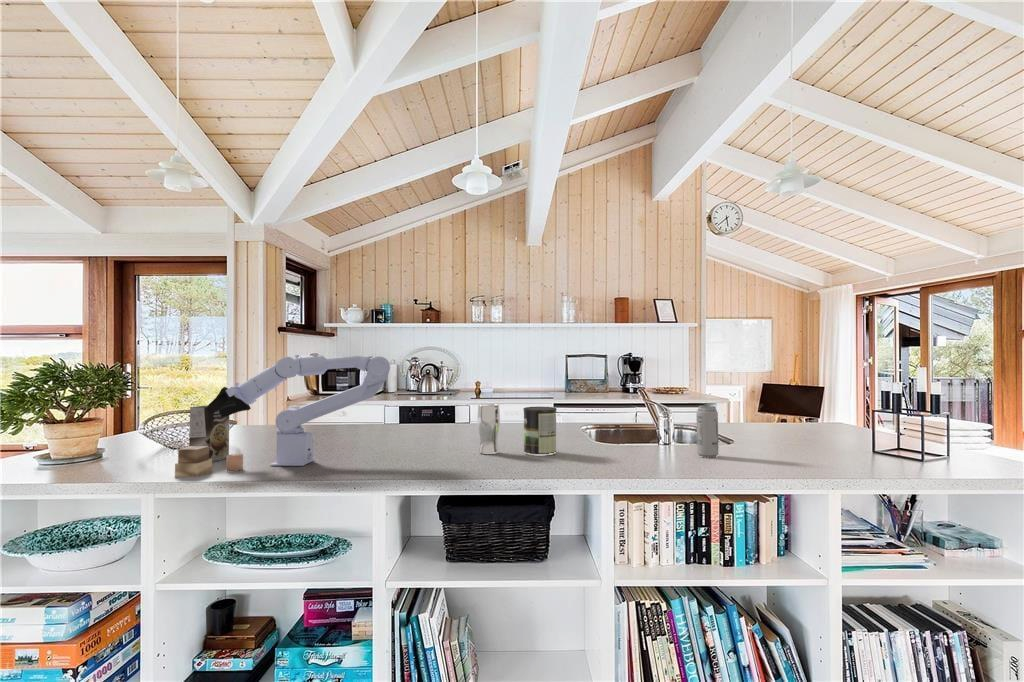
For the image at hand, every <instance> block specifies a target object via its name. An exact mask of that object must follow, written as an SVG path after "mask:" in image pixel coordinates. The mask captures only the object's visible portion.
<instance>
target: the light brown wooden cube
mask: <svg viewBox="0 0 1024 682" xmlns="http://www.w3.org/2000/svg"><path fill="white" fill-rule="evenodd" d="M225 460H226V465H225V466H226V467H225V468H226V469H225V470H227V471H226V472H228V471H235V472H238V471H237V470H241V471H243V470H244V454H243V453H233V454H229V455H227V456H226V459H225ZM242 469H243V470H242Z"/></svg>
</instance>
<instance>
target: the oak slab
mask: <svg viewBox="0 0 1024 682" xmlns="http://www.w3.org/2000/svg"><path fill="white" fill-rule="evenodd" d="M211 471H212V472H213V462H212V459H209V460H206V461H203V462H199V463H178V462H176V463H174V477H184V476H189V477H193V478H194V477H196V478H197V477H201V476H204V475H206V473H207V474H210V473H211ZM203 474H204V475H203Z"/></svg>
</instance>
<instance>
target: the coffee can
mask: <svg viewBox="0 0 1024 682" xmlns="http://www.w3.org/2000/svg"><path fill="white" fill-rule="evenodd" d="M522 409H523V453H524V452H526V453H530V454H549V453H554V452H556V453H557V408H556V407H554V406H527V407H524V408H522Z"/></svg>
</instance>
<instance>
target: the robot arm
mask: <svg viewBox="0 0 1024 682" xmlns="http://www.w3.org/2000/svg"><path fill="white" fill-rule="evenodd" d="M354 368H355V369H358V370H360V371H362V372H366V375H365V377H364V379H363V382H362V383H361V384H360V385H356V386H354V387H352V388H349V389H346V390H343V391H341V392H338V393H336V394H332V395H329V396H327V397H325V398H322V399H319V400H316V401H314V402H311V403H309V404H305V405H302V406H290V407H288V408H286V409H284V410H282V411H280V412H279V413H278V414H277V416H276V418H275V426H276V428H277V429H278V430H276V439H275V440H276V446H275V447H276V449H275V450H276V451H275V452H276V455H275V457H276V459H275V460H276V461H274V462H272V463H269V466H272V467H275V466H278V467H279V466H280V467H282V466H283V467H284V466H286V467H289V466H290V467H298V466H299V467H301V466H302V467H303V466H306V465H307V464H309V463H311V462H314V461H315V458H314V437H313V434H312V433H311V432H307V431H305V429H304V428H303V427H302V425H304V424H306V423H308V422H310V421H313V420H315V419H318V418H320V417H323V416H325V415H328V414H331V413H333V412H336V411H338V410H342V409H344V408H347V407H350V406H352V405H354V404H357V403H360V402H362V401H365V400H368V399H369V400H370V398H373V397H375V396H376V394H377V393H378V392H379V390H380V389H381V388H382V386H383V384H384V383H385V382H386V381H387V379H388V377H389V373H390V369H391V365H390V362H389V360H388V359H387V358H386V357H383V356H380V355H379V356H373V355H372V356H370V355H351V356H341V357H334V358H333V357H332V358H326V357H325V356H324V355H322V354H319V353H317V352H313V353H312V355H299V354H295V355H294V357H291V356H285V357H282V358H280V359H279V360H277V362H276V364H273V365H271V366H270V367H267V368H265V369H263V370H262V371H260V372H259V373H257V374H255V375H254V376H252V377H250V378H248V379H247V380H245V381H244V382H242V383H240V382H237V381H235V382H234V385H235V386H231V387H229V388H228V387H227V386H223V387H222V388H221V389H220V391H219V393H218V394H217V396H216V397H215V398H214V399H213V400H212V401H210V402H209V404H208V406H207V407H206V409H207V411H208V412H209V414H212V413H215V412H217V411H219V413H220V415H221V416H222V417H226V416H229V417H230V416H231V415H235V414H236V413H239V412H244V411H250V410H251V406H250V405H252V404H254V403H255V402H257V400H258V399H259V398H260V397H262V396H263V395H266V394H267V393H268V392H270V391H271V390H272V391H273V389H275V388H276V387H278V386H279V385H280V384H281V383H282V382H284V381H286V380H287V379H291V378H293V377H296V376H299V377H306V376H309V377H310V376H318V375H324V374H325V373H326V371H328V370H337V369H354Z"/></svg>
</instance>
